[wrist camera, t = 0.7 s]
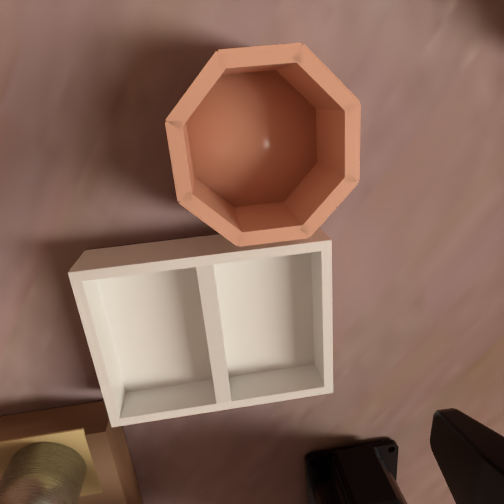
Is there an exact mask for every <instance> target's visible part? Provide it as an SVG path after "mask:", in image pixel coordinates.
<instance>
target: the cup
mask: <svg viewBox="0 0 504 504" xmlns="http://www.w3.org/2000/svg"><path fill="white" fill-rule="evenodd" d="M359 102H360V101H359V100H358V99H357V98H356V97H355V96H354V95H353V94H352V93H351V92H350V91H349V90H348V89H347V88H346V87H345V85H344V84H343V83H342V82H341V81H340V80H339V79H338V78H337V77H336V76H335V75H334V74H333V73H332V72H331V71H330V70H329V69H328V68H327V67H326V66H325V65H324V64H323V63H322V62H321V61H320V60H319V59H318V58H317V57H316V56H315V55H314V54H313V53H312V52H311V51H310V50H309V49H308V47H307V46H306V45H305V44H302V43H293V44H280V45H268V46H256V47H243V48H231V49H219V50H218V51H216V52H215V53H214V54H213V56H212V57H211V58H210V60H209V61H208V62H207V64H206V65H205V66H204V68H203V69H202V71H201V72H200V73H199V75H198V76H197V77H196V79H195V80H194V81H193V83H192V84H191V86H190V87H189V88H188V90H187V91H186V92H185V94H184V95H183V96H182V98H181V99H180V101H179V102H178V103H177V105H176V106H175V107H174V109H173V110H172V111H171V113H170V114H169V116H168V117H167V118H166V122H165V126H166V133H167V139H168V145H169V151H170V158H171V164H172V170H173V177H174V183H175V189H176V195H177V201H179V204H180V205H182V206H183V207H184V208H186V209H187V210H188V211H190V212H191V213H192V214H194V215H195V216H197V217H198V218H199V219H201V220H202V221H203V222H205V223H206V224H207V225H209V226H210V227H211V228H213V229H214V230H215V231H217V232H218V233H219V234H221V235H222V236H223V237H225V238H226V239H228V240H229V241H230V242H232V243H233V244H234V245H236V246H239V247H242V246H250V245H258V244H267V243H275V242H283V241H291V240H299V239H307V238H308V236H309V237H311V236H312V235H313V233H314V232H315V231H316V230H317V229H318V228H319V227H320V226H321V225H322V223H323V222H324V221H325V220H326V219H327V218H328V217H329V216H330V214H331V213H332V212H333V211H334V210H335V209H336V208H337V207H338V206H339V204H340V203H341V202H342V201H343V200H344V199H345V198H346V197H347V195H348V194H349V193H350V192H351V191H352V190H353V189H354V188H355V186H356V185H357V184H358V182H357V181H359V178H360V116H361V103H359Z"/></svg>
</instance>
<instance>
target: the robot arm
mask: <svg viewBox="0 0 504 504" xmlns="http://www.w3.org/2000/svg"><path fill="white" fill-rule="evenodd" d="M430 445H431V449H432V452H433V454H434V456H435V459H436V461H437V463H438V465H439V467H440V469H441V472H442V474H443V476H444V478H445V480H446V483H447V485H448V487H449V489H450V491H451V493H452V496H453V498H454V500H455V502H456V504H504V437H503V436H502V435H500V434H498V433H496V432H495V431H493V430H491V429H490V428H488V427H486V426H485V425H483V424H481V423H479V422H478V421H476V420H474V419H473V418H471V417H469V416H468V415H466V414H464V413H463V412H461V411H459V410H457V409H454V408H450V409H442V410H437V411H436V412H435V413H434V415H433V422H432V429H431V436H430ZM304 460H305V480H306V501H307V504H407V502H406V500H405V498H404V496H403V494H402V492H401V491H400V489H399V487H398V485H397V483H396V475H397V461H398V446H397V444H396V442H395V441H394V440H384V441H378V442H372V443H366V444H360V445H354V446H348V447H343V448H337V449H331V450H325V451H319V452H313V453H309V454H307V455H306V456H305V459H304Z"/></svg>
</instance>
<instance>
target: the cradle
mask: <svg viewBox="0 0 504 504" xmlns="http://www.w3.org/2000/svg"><path fill="white" fill-rule="evenodd" d="M38 442H56V443H60V444H64V445H66V446H69V447H71V448H73V449H74V450H76V451H77V452H78V453H79V454H80V455H81V456H82V457H83V459H84V460H85V463H86V466H87V473H86V477H85V480H84V483H83V486H82V490H81V493H80V496H79V500H78V503H77V504H143V501H142V497H141V494H140V490H139V486H138V482H137V479H136V475H135V471H134V468H133V464H132V460H131V457H130V453H129V449H128V446H127V442H126V438H125V435H124V431H123V427H122V426H118V427H111V423H110V420H109V416H108V413H107V409H106V406H105V402H104V401H98V402H92V403H85V404H79V405H72V406H65V407H59V408H52V409H46V410H39V411H32V412H26V413H19V414H12V415H6V416H0V479H1V477H2V475H3V474H4V472H5V470H6V468H7V466H8V464H9V462H10V460H11V458H12V457H13V455H14V454H15V453H16V452H17V451H18V450H20V449H21V448H23V447H25V446H27V445H30V444H33V443H38Z"/></svg>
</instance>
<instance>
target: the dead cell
mask: <svg viewBox="0 0 504 504" xmlns="http://www.w3.org/2000/svg"><path fill="white" fill-rule="evenodd" d="M86 473H87V466H86V463H85V460H84V459H83V457H82V456H81V455H80V454H79V453H78V452H77V451H76V450H74V449H73V448H71V447H69V446H66V445H64V444H60V443H56V442H38V443H33V444H30V445H27V446H25V447H23V448H21V449H20V450H18V451H17V452H16V453H15V454H14V455H13V457H12V458H11V460H10V462H9V464H8V466H7V468H6V470H5V472H4V474H3V475H2V477H1V479H0V504H77V503H78V500H79V496H80V493H81V490H82V486H83V483H84V480H85V477H86Z"/></svg>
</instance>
